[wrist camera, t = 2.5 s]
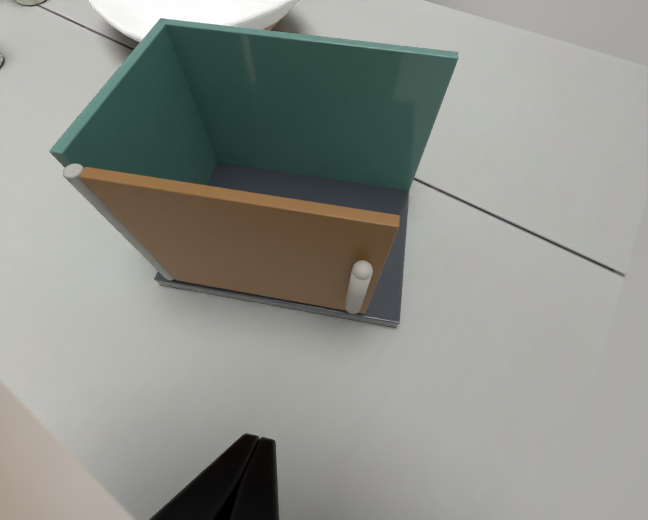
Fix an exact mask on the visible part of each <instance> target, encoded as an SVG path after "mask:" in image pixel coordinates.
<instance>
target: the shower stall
mask: <svg viewBox="0 0 648 520" xmlns="http://www.w3.org/2000/svg"><path fill="white" fill-rule="evenodd" d="M457 61H458V52H452V51H443V50H434V49H426V48H417V47H408V46H400V45H391V44H382V43H373V42H365V41H356V40H347V39H339V38H330V37H321V36H312V35H304V34H295V33H286V32H277V31H269V30H260V29H251V28H243V27H234V26H225V25H216V24H208V23H199V22H190V21H182V20H173V19H164V18H160V19H159V20H158V21H157V23H156V24H155V25H154V26H153V27H152V29H151V30H150V31H149V32H148V33H147V35H146V36H145V37H144V38H143V39H142V41H141V42H140V43H139V44H138V45H137V47H136V48H135V49H134V50H133V51H132V53H131V54H130V55H129V56H128V57H127V59H126V60H125V61H124V62H123V63H122V65H121V66H120V67H119V68H118V69H117V71H116V72H115V73H114V74H113V75H112V77H111V78H110V79H109V80H108V81H107V83H106V84H105V85H104V86H103V87H102V88H101V90H100V91H99V92H98V93H97V94H96V96H95V97H94V98H93V99H92V100H91V102H90V103H89V104H88V105H87V106H86V108H85V109H84V110H83V111H82V112H81V114H80V115H79V116H78V117H77V118H76V120H75V121H74V122H73V123H72V124H71V126H70V127H69V128H68V129H67V130H66V132H65V133H64V134H63V135H62V136H61V138H60V139H59V140H58V141H57V142H56V144H55V145H54V146H53V147H52V148H51V150H50V153H51V154H52V155H53V156H54V157H55V158H56V159H57V160H58V161H59V162H60V163H61V164H62V165H63V166H64V167H65V168H66V167H67V166H68V165H71V164H80V165H82V166H83V167H84V168H85V167H91V168H97V169H104V170H110V171H117V172H123V173H130V174H136V175H142V176H149V177H155V178H162V179H168V180H175V181H181V182H188V183H194V184H201V185H207V186H214V187H220V188H227V189H233V190H239V191H246V192H252V193H259V194H265V195H272V196H278V197H285V198H291V199H298V200H304V201H311V202H317V203H323V204H330V205H336V206H343V207H349V208H356V209H362V210H369V211H375V212H382V213H388V214H395V215H399V216H400V224H399V229H398V231H397V234H396V237H395V239H394V242H393V244H392V247H391V249H390V252H389V255H388V257H387V260H386V262H385V265H384V267H383V270H382V273H381V275H380V278H379V280H378V283H377V285H376V288H375V291H374V293H373V296H372V298H371V301H370V303H369V306H368V309H367V311H366V314H361V313H356V314H350V313H348V312H347V311H345V310H339V309H333V308H328V307H322V306H317V305H311V304H306V303H300V302H294V301H289V300H283V299H278V298H272V297H267V296H261V295H255V294H250V293H244V292H239V291H233V290H228V289H222V288H216V287H211V286H205V285H200V284H194V283H189V282H183V281H177V280H175V279H174V280H167V279H166V278H165V277H164V276H163V275H162V274H161V273H160V272H159V271H158V272H157V274H156V276H155V279H154V280H155V281H156V282H157V283H159V284H160V285H163V286H169V287H174V288H180V289H185V290H191V291H196V292H202V293H207V294H213V295H218V296H224V297H229V298H235V299H240V300H246V301H251V302H257V303H262V304H268V305H273V306H279V307H284V308H290V309H295V310H301V311H306V312H312V313H317V314H323V315H328V316H334V317H339V318H345V319H351V320H356V321H362V322H367V323H373V324H378V325H384V326H389V327H395V328H396V327H397V326H398V325H399V323H400V310H401V296H402V282H403V268H404V255H405V241H406V227H407V213H408V200H409V190H410V187H411V184H412V182H413V179H414V176H415V174H416V171H417V168H418V166H419V163H420V160H421V157H422V155H423V152H424V149H425V147H426V144H427V141H428V139H429V136H430V133H431V131H432V128H433V125H434V122H435V120H436V117H437V114H438V112H439V109H440V106H441V104H442V101H443V98H444V96H445V93H446V90H447V87H448V85H449V82H450V79H451V77H452V74H453V71H454V69H455V66H456V63H457Z"/></svg>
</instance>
